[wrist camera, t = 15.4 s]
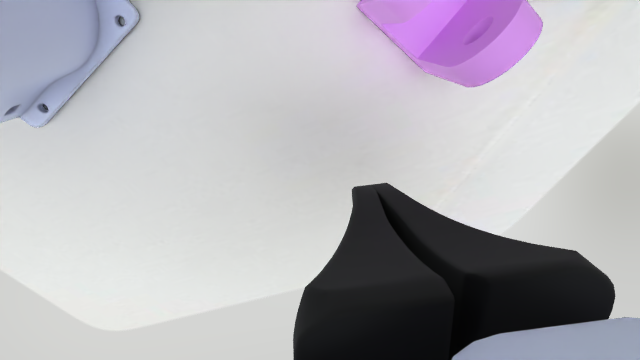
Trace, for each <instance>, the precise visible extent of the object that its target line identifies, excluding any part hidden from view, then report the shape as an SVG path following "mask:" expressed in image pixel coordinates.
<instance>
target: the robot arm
mask: <svg viewBox="0 0 640 360" xmlns="http://www.w3.org/2000/svg"><path fill="white" fill-rule="evenodd" d="M120 16H122V17H123V18H124V20H125V25H124V26H121V25H120V23H119V21H118V19H119V17H120ZM138 20H139V13H138V11H137V9H136V8H135V7H134V6H133V5H132V4H131V3H130V2H129V1H128V0H0V123H2V122H5V121H8V120H11V119H14V118H17V117H20V118H21V119H22V120H24V121H25V122H26V123H28V124H29V125H30V126H32V127H36V128H37V127H42V126H44V125H45V124H46V123H47V122H48V121H49V120H50V119H51V118H52V117H53V116H54V115H55V113H56V112H57V111H58V110H59V109H60V108H61V107H62V106H63V105H64V103H65V102H66V101H67V100H68V99H69V98H70V97H71V96H72V95H73V93H74V92H75V91H76V90H77V89H78V88H79V87H80V86H81V85H82V83H83V82H84V81H85V80H86V79H87V78H88V77H89V76H90V75H91V73H92V72H93V71H94V70H95V69H96V68H97V67H98V66H99V65H100V63H101V62H102V61H103V60H104V59H105V58H106V57H107V56H108V55H109V53H110V52H111V51H112V50H113V49H114V48H115V47H116V46H117V45H118V43H119V42H120V41H121V40H122V39H123V38H124V37H125V36H126V35H127V33H128V32H129V31H130V30H131V29H132V28H133V27H134V26H135V25H136V23H137V22H138ZM43 104H45V105H46V106H47V107H48V111H47V110H45V109H44V107H43ZM352 200H353V208H352V214H351V217H350V221H349V224H348V227H347V230H346V232H345V235H344V237H343V239H342V241H341V243H340V245H339V247H338V248H337V250H336V252H335V253H334V255H333V257H332V258H331V259H330V261H329V262H328V263H327V265H326V266H325V267H324V269H323V270H322V271H321V272H320V273H319V274H318V275H317V276H316V277H315V278H314V279H313V280H312V281H311V282H310V283H309V284H308V285H307V286H306V287H305V290H304V292H303V295H302V299H301V302H300V305H299V309H298V312H297V317H296V322H295V328H294V338H293V348H294V360H640V318H629V317H623V318H616V319H608V318H609V316H610V314H611V311H612V308H613V304H614V300H615V290H614V285H613V283H612V282H611V280H610V279H609V278H608V276H606V275H605V274H604V273H603V272H602V271H600V270H599V269H598V268H597V267H595V266H594V265H593V264H592V263H591V262H589V261H588V260H587V259H586V258H584V257H583V256H582V255H581V254H579V253H578V252H577V251H573V250H567V249H561V248H555V247H549V246H543V245H536V244H531V243H527V242H522V241H518V240H513V239H509V238H505V237H501V236H498V235H494V234H491V233H488V232H485V231H482V230H478V229H475V228H472V227H470V226H467V225H464V224H462V223H459V222H457V221H454V220H452V219H450V218H447V217H445V216H443V215H441V214H439V213H437V212H435V211H433V210H431V209H429V208H427V207H426V206H424V205H422V204H420V203H418V202H417V201H415V200H413V199H412V198H410V197H409V196H407V195H405V194H404V193H402V192H401V191H399V190H398V189H396V188H394V187H393V186H391V185H390V184H388V183H381V184H373V185H365V186H357V187H354V188H353V189H352Z"/></svg>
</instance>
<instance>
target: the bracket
mask: <svg viewBox="0 0 640 360" xmlns="http://www.w3.org/2000/svg"><path fill="white" fill-rule="evenodd" d="M357 7H358V8H359V9H360V10H361V11H362V12H363V13H364V14H365V15H366V16H367V17H368V18H369V19H370V20H371V21H372V22H373V23H374V24H376V25H377V26H378V27H379V28H380V29H381V30H382V31H383V32H384V33H385V34H386V35H387V36H388V37H389V38H390V39H391V40H392V41H393V42H394V43H395V44H396V45H397V46H398V47H400V48H401V49H402V50H403V51H404V52H405V53H406V54H407V55H408V56H409V57H410V58H411V59H412V60H413V61H414V62H415V63H416V64H417V65H418V66H419V67H420V68H421V69H422V70H423V71H425V72H426V73H429V74H432V75H435V76H437V77H440V78H443V79H446V80H448V81H451V82H454V83H457V84H460V85H462V86H465V87H476V86H480V85H483V84H485V83H488V82H490V81H492V80H494V79H495V78H497V77H499V76H500V75H502V74H503V73H505V72H506V71H508V70H509V69H510V68H511V67H513V66H514V65H515V64H516V63H517V62H518V61H520V60H521V59H522V58H523V57H524V56H525V55H526V54H527V52H528V51H529V50H530V49H531V48H532V46H533V45H534V44H535V42H536V41H537V39H538V37H539V35H540V33H541V31H542V27H543V22H542V20H541V18H540V17H539V16H538V14H537V13H536V12H535V11H534V9H533V8H532V7H531V6H530V4H529V3H528V2H527V1H526V0H361V1H360V2H359V4H358V5H357Z"/></svg>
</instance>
